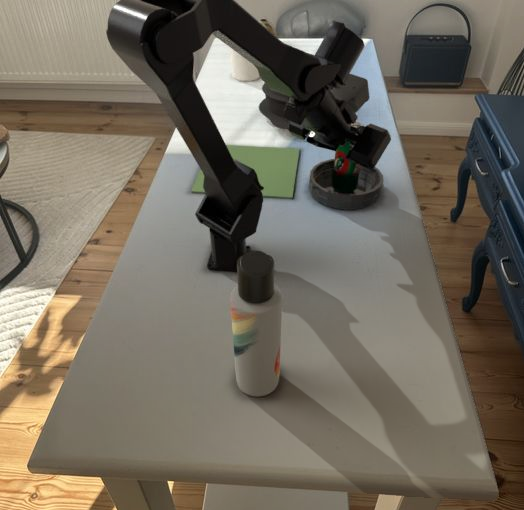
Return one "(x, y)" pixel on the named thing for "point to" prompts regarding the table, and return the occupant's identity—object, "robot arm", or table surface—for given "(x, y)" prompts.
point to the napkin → (265, 168)
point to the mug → (242, 68)
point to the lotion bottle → (256, 324)
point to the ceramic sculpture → (268, 25)
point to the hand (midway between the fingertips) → (353, 154)
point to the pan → (359, 198)
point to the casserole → (274, 107)
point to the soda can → (345, 169)
